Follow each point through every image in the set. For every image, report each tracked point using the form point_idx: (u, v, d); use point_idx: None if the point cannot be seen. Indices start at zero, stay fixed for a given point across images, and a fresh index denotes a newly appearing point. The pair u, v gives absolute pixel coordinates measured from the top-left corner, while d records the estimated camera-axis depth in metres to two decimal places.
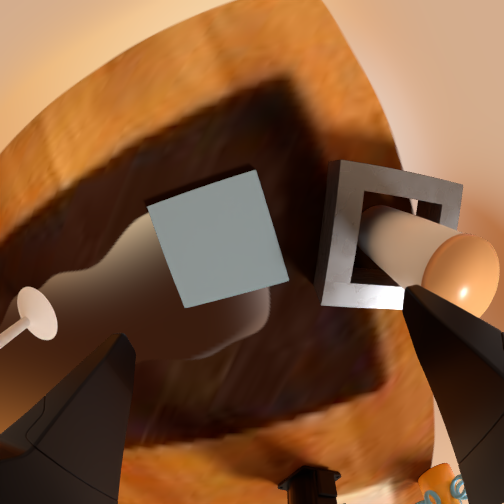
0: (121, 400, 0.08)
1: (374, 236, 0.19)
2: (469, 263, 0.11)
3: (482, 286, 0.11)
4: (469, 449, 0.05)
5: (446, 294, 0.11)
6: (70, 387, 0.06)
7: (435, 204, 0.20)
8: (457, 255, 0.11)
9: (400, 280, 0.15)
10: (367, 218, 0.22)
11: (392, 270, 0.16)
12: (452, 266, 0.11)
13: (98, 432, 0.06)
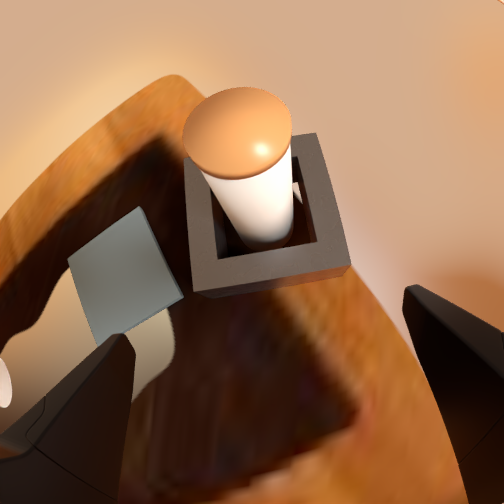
0: (121, 400, 0.08)
1: None
2: (228, 108, 0.12)
3: (262, 119, 0.12)
4: (469, 449, 0.05)
5: (209, 138, 0.12)
6: (70, 387, 0.06)
7: (297, 164, 0.21)
8: (208, 107, 0.12)
9: (214, 193, 0.15)
10: None
11: (216, 197, 0.16)
12: (206, 116, 0.12)
13: (98, 432, 0.06)
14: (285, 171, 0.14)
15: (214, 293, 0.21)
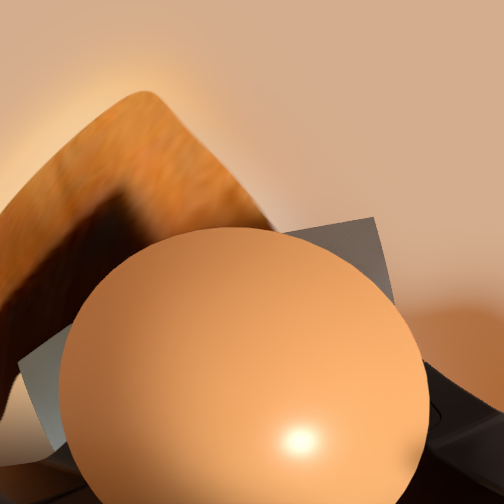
0: None
1: None
2: (188, 343, 0.03)
3: (326, 420, 0.03)
4: None
5: (137, 465, 0.03)
6: None
7: None
8: (118, 323, 0.03)
9: None
10: None
11: None
12: (112, 366, 0.03)
13: None
14: None
15: None
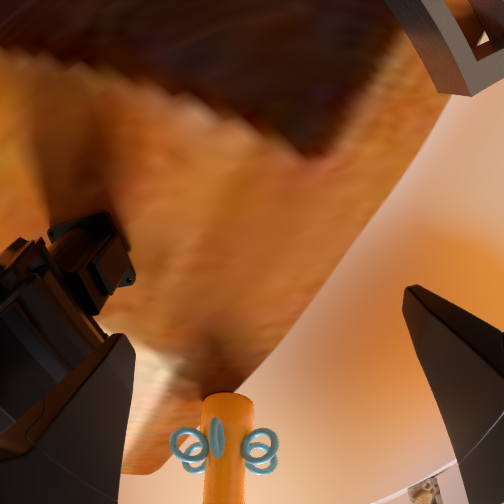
0: (121, 400, 0.08)
1: None
2: None
3: None
4: (469, 449, 0.05)
5: None
6: (70, 387, 0.06)
7: None
8: None
9: None
10: None
11: None
12: None
13: (98, 432, 0.06)
14: None
15: None
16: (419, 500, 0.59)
